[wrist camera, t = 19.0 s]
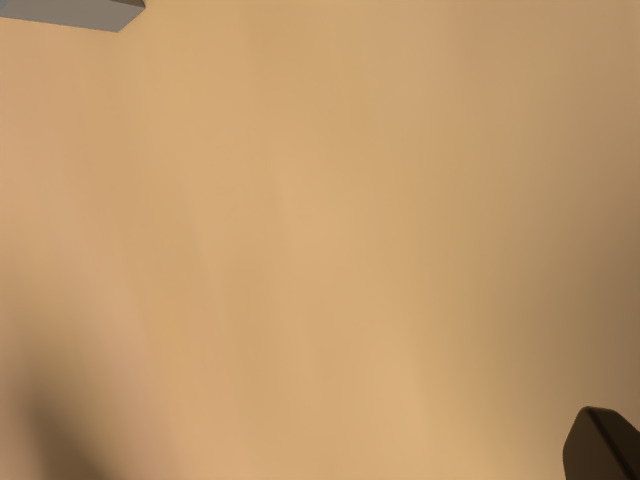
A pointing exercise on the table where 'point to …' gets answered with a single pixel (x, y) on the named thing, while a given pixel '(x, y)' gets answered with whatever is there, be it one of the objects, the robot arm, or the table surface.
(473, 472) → the table surface
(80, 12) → the open-front crate
